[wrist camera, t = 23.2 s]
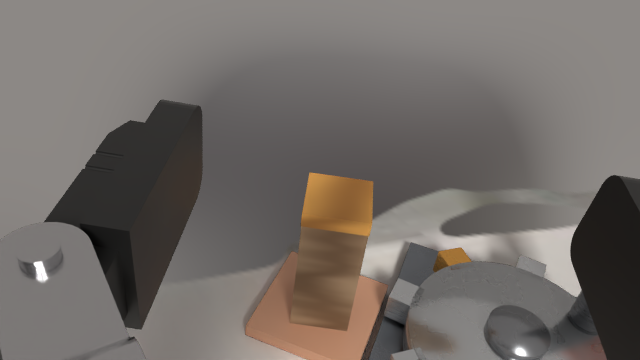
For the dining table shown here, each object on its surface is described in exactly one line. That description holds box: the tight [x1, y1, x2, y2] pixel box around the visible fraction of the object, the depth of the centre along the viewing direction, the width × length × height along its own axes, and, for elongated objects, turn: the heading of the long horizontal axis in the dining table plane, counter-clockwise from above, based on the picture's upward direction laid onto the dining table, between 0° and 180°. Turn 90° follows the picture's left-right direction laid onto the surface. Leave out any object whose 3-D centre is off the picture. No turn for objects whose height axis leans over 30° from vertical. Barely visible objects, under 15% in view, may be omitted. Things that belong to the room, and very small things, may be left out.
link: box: [290, 173, 373, 331], centre depth 36 cm, size 4×4×10 cm
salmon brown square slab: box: [245, 251, 388, 360], centre depth 40 cm, size 8×8×1 cm
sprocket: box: [384, 248, 607, 360], centre depth 32 cm, size 17×17×16 cm
